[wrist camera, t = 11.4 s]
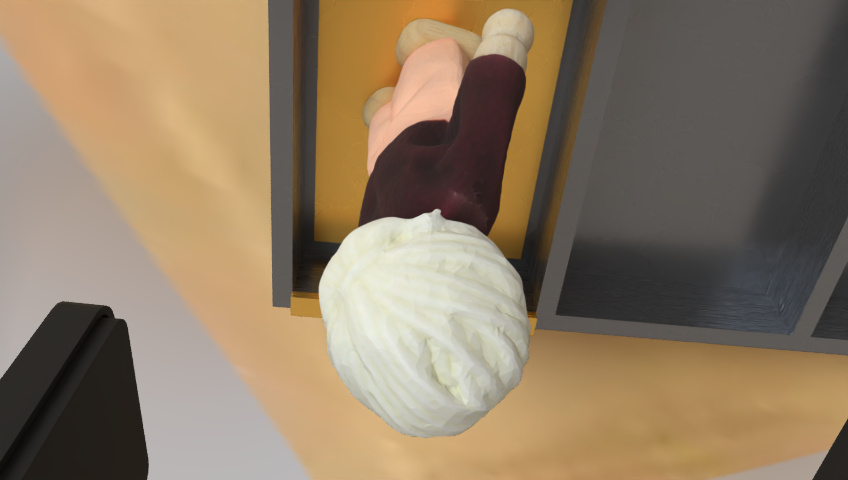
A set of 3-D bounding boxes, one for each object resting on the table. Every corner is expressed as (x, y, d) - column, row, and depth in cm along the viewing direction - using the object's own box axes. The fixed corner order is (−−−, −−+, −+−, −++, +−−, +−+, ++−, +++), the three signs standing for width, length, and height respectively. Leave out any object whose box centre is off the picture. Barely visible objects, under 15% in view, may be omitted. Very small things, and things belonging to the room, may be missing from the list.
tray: (1272, -125, 19) (1416, -105, 16) (989, 315, 27) (1054, 380, 24) (288, -238, 18) (262, -239, 15) (288, 253, 26) (271, 313, 23)
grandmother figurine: (450, 207, 24) (463, 576, 13) (333, 171, 23) (244, 527, 12) (552, -32, 20) (692, 214, 9) (414, -84, 19) (386, 114, 8)
